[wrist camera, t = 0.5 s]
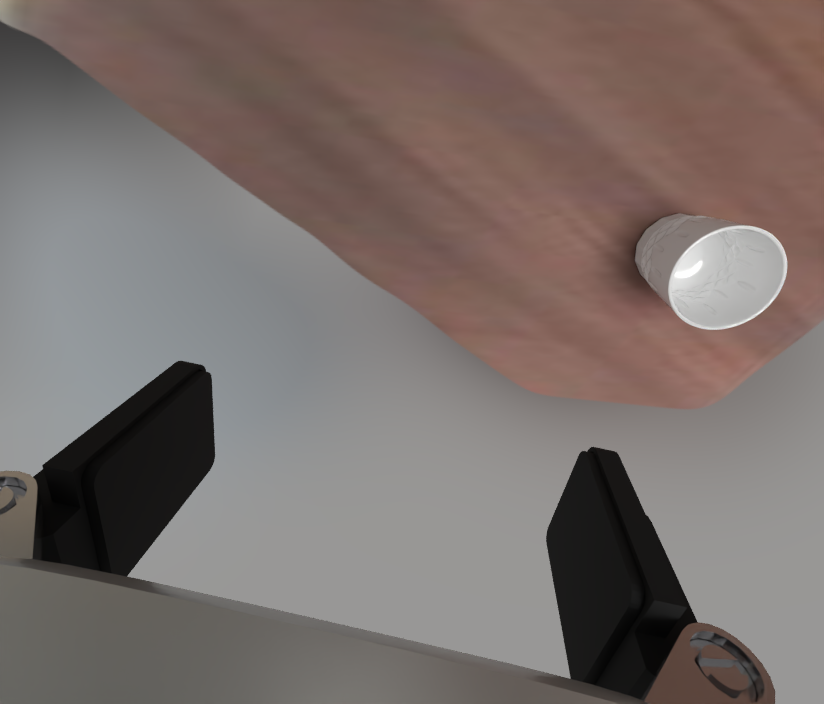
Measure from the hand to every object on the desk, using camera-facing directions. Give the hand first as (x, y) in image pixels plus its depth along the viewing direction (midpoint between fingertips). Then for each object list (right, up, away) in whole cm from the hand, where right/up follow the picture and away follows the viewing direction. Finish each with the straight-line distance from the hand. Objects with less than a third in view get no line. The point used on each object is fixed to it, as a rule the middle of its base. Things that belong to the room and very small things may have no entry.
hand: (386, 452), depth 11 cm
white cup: (+25, +12, +31) cm, 42 cm away
